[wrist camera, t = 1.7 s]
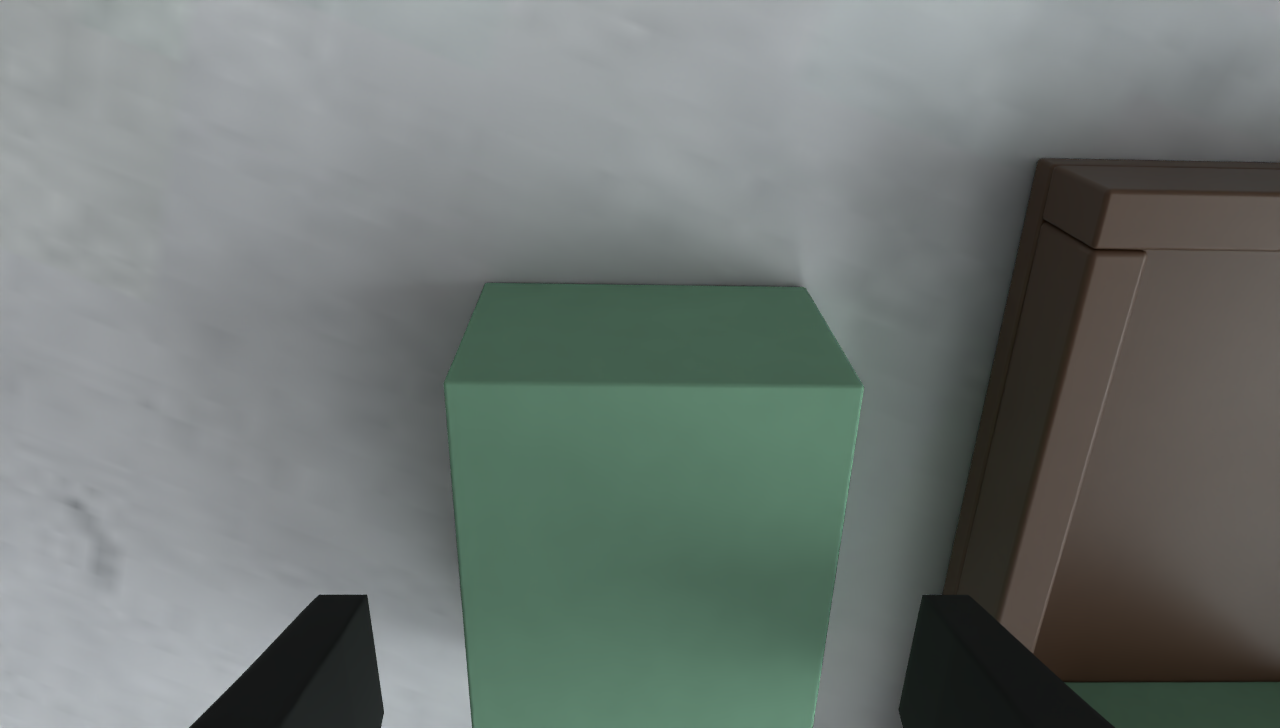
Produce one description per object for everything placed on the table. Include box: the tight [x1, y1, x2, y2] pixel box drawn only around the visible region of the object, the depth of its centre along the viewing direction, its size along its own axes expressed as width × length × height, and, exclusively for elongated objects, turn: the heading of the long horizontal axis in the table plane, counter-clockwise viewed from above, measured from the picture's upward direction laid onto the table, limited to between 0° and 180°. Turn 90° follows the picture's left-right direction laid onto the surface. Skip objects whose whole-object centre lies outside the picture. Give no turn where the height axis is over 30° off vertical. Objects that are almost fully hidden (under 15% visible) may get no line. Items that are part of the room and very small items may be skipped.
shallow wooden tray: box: [942, 158, 1280, 682], centre depth 16 cm, size 19×10×2 cm, turn 179°
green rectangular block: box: [444, 283, 864, 728], centre depth 13 cm, size 8×5×4 cm, turn 179°
